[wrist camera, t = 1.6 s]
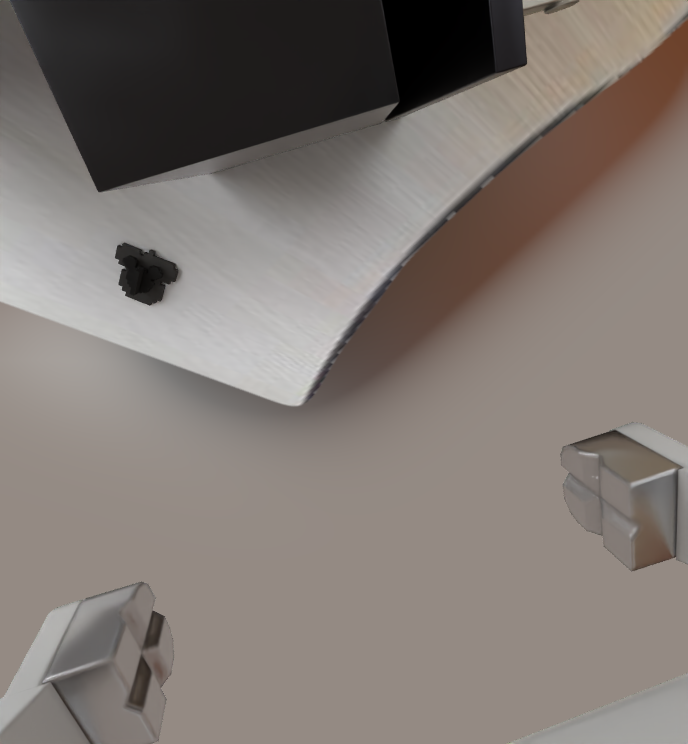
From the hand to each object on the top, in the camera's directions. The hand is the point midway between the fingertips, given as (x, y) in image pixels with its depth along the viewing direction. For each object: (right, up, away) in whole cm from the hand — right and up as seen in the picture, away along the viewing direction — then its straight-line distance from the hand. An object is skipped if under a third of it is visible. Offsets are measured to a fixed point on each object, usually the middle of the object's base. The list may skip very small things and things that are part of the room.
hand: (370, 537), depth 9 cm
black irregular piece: (-21, +13, +37) cm, 45 cm away
